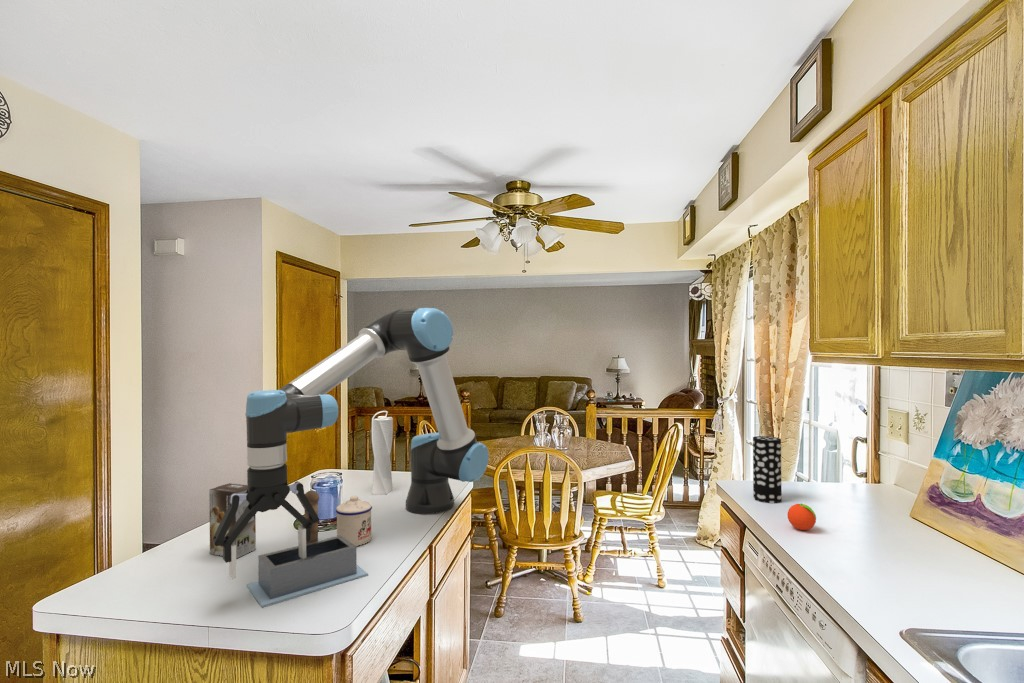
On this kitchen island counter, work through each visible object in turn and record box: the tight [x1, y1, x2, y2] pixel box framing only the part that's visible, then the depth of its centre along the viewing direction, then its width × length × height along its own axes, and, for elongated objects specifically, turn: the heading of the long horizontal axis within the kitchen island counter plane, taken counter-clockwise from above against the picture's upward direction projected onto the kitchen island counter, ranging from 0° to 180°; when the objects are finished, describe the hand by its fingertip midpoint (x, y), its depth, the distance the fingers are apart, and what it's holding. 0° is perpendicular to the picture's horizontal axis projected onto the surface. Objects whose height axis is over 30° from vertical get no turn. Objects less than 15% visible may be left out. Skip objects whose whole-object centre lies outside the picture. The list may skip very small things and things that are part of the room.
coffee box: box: [208, 483, 257, 559], centre depth 130 cm, size 9×6×16 cm
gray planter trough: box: [257, 535, 358, 600], centre depth 113 cm, size 18×9×6 cm, turn 130°
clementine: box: [786, 503, 817, 531], centre depth 142 cm, size 8×7×7 cm
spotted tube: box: [752, 435, 783, 504], centre depth 171 cm, size 8×8×20 cm
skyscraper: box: [371, 410, 394, 496], centre depth 181 cm, size 8×8×28 cm
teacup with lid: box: [335, 495, 373, 547], centre depth 138 cm, size 12×9×12 cm
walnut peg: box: [304, 489, 320, 544], centre depth 125 cm, size 4×4×16 cm
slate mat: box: [246, 564, 369, 609], centre depth 113 cm, size 22×12×1 cm, turn 130°
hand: (269, 566), depth 108 cm, fingers open, 13 cm apart
